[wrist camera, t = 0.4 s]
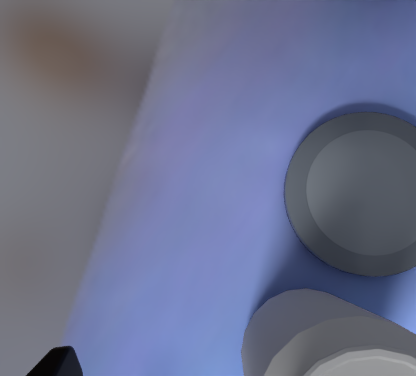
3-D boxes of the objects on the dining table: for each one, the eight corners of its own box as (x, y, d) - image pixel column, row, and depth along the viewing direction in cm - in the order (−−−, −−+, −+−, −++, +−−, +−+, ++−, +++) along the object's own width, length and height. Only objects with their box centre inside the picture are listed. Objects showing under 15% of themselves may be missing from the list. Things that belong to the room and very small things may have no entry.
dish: (480, 207, 24) (493, 206, 23) (355, 309, 23) (361, 312, 22) (372, 87, 25) (378, 80, 24) (251, 180, 25) (252, 177, 24)
